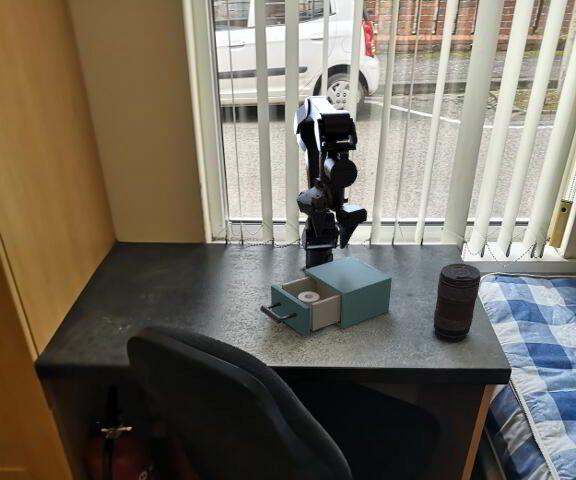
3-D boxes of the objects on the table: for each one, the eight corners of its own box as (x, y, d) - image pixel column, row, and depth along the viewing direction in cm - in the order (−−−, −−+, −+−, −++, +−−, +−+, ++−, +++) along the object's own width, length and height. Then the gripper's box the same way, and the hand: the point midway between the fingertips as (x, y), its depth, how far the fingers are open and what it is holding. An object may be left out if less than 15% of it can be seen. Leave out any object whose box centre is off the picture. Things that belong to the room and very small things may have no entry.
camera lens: (426, 326, 127) (435, 263, 118) (461, 324, 127) (473, 261, 118) (436, 345, 120) (447, 280, 111) (474, 343, 121) (488, 278, 112)
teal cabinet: (342, 328, 126) (344, 293, 121) (304, 303, 136) (304, 269, 131) (388, 311, 133) (392, 277, 127) (348, 288, 142) (350, 255, 137)
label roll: (311, 319, 126) (311, 303, 123) (293, 313, 128) (293, 297, 126) (323, 311, 129) (323, 295, 126) (305, 305, 131) (305, 289, 129)
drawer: (286, 344, 120) (285, 315, 116) (253, 318, 129) (251, 291, 125) (350, 320, 128) (352, 292, 124) (315, 297, 137) (315, 271, 133)
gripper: (278, 170, 128) (279, 237, 137) (329, 192, 115) (327, 264, 124) (318, 162, 133) (317, 227, 142) (371, 182, 120) (366, 252, 129)
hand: (330, 242), depth 134 cm, fingers open, 9 cm apart
